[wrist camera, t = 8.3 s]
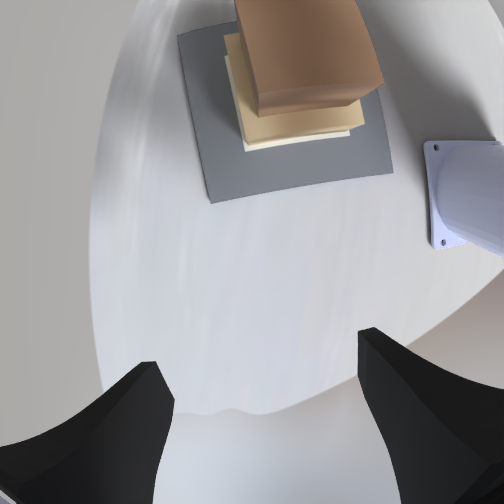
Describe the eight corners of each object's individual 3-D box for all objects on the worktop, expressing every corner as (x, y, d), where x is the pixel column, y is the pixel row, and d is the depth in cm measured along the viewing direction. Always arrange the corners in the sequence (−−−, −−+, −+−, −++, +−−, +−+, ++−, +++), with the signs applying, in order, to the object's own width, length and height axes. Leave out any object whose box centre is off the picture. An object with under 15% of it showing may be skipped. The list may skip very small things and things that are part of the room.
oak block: (322, 46, 14) (336, 23, 10) (344, 131, 16) (365, 123, 12) (229, 58, 14) (223, 35, 11) (248, 145, 16) (246, 139, 13)
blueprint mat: (349, 16, 13) (352, 12, 13) (390, 172, 17) (394, 173, 16) (179, 38, 14) (177, 35, 14) (212, 203, 18) (210, 204, 17)
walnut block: (325, 30, 11) (349, -13, 6) (347, 106, 12) (384, 82, 8) (240, 40, 11) (233, -6, 7) (258, 117, 12) (258, 93, 8)
